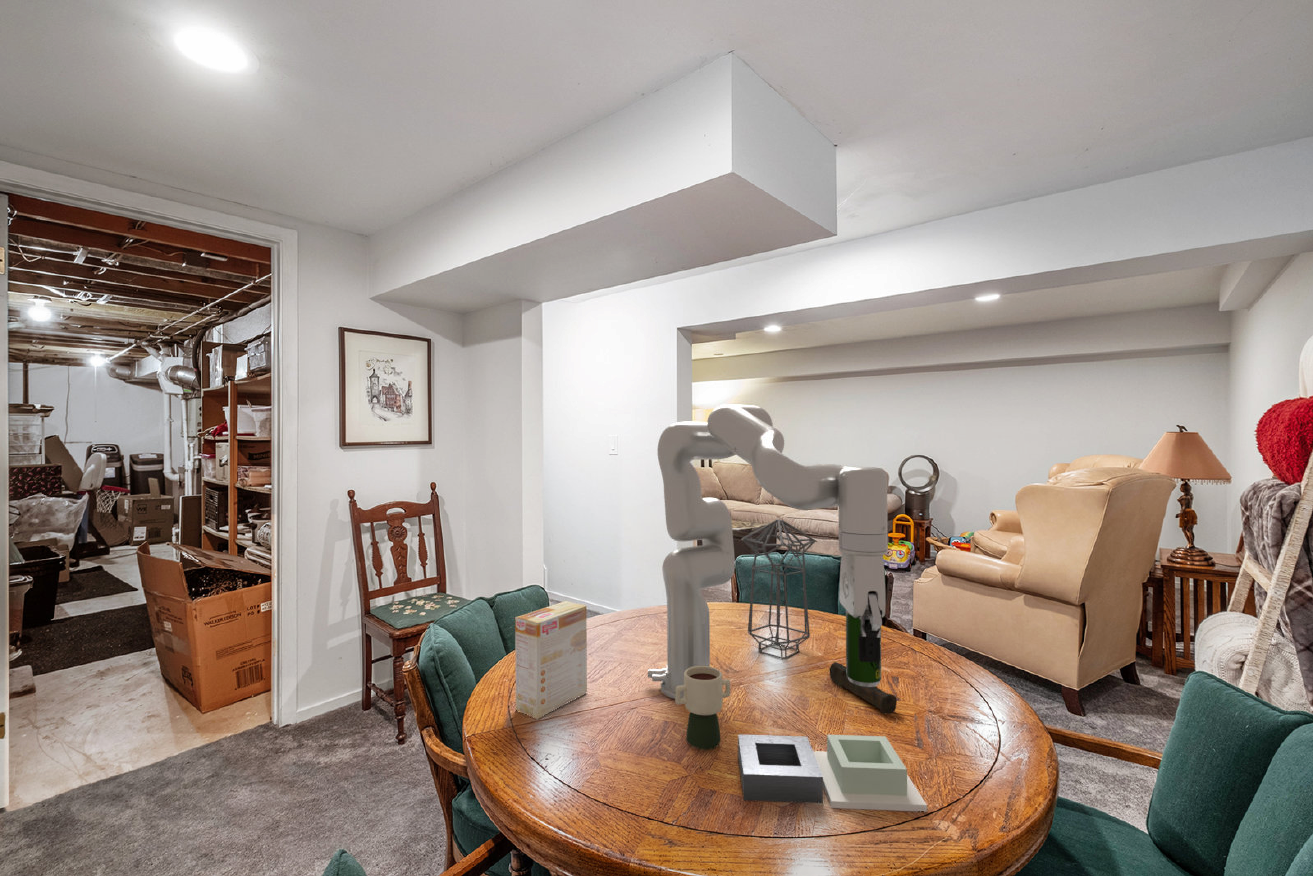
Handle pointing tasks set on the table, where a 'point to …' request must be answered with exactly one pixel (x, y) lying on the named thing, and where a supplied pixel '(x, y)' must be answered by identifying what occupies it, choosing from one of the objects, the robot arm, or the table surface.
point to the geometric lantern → (789, 546)
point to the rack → (866, 775)
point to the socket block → (779, 769)
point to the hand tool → (863, 690)
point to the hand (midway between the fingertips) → (863, 653)
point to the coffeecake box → (550, 657)
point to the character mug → (703, 704)
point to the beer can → (855, 669)
